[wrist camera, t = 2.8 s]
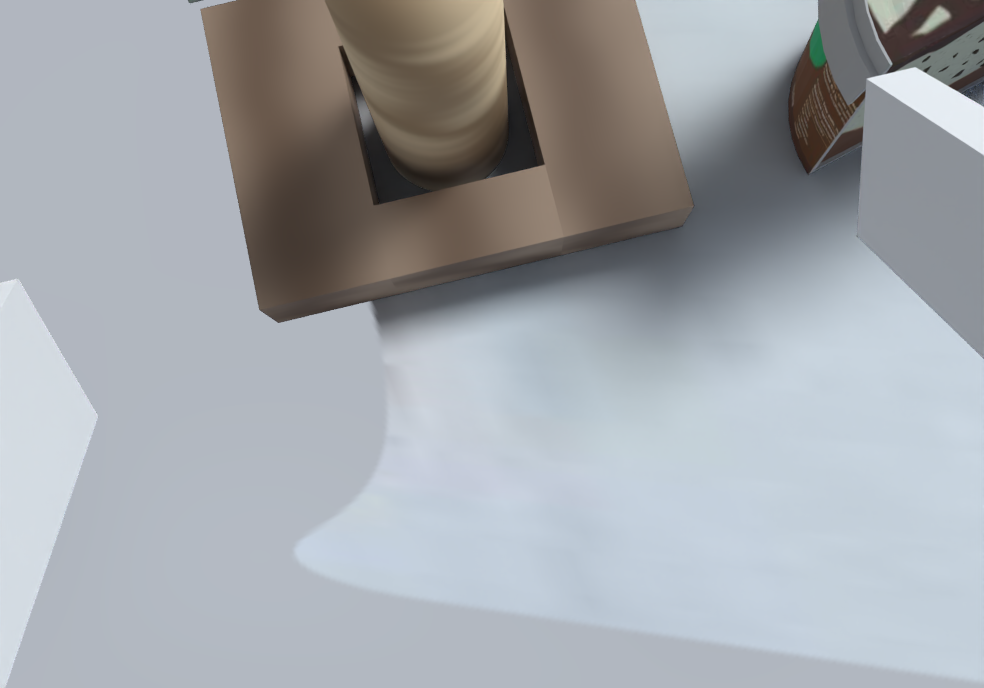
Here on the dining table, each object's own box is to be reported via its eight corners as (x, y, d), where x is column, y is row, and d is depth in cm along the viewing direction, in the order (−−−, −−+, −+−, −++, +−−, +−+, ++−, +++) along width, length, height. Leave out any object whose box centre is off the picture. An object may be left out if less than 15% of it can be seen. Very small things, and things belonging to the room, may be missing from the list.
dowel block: (604, -50, 37) (609, -89, 34) (682, 226, 35) (694, 206, 32) (222, 41, 37) (200, 9, 34) (278, 322, 35) (259, 309, 32)
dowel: (492, 60, 36) (477, -152, 24) (522, 175, 35) (520, 15, 23) (371, 88, 36) (296, -109, 24) (398, 205, 35) (333, 59, 23)
